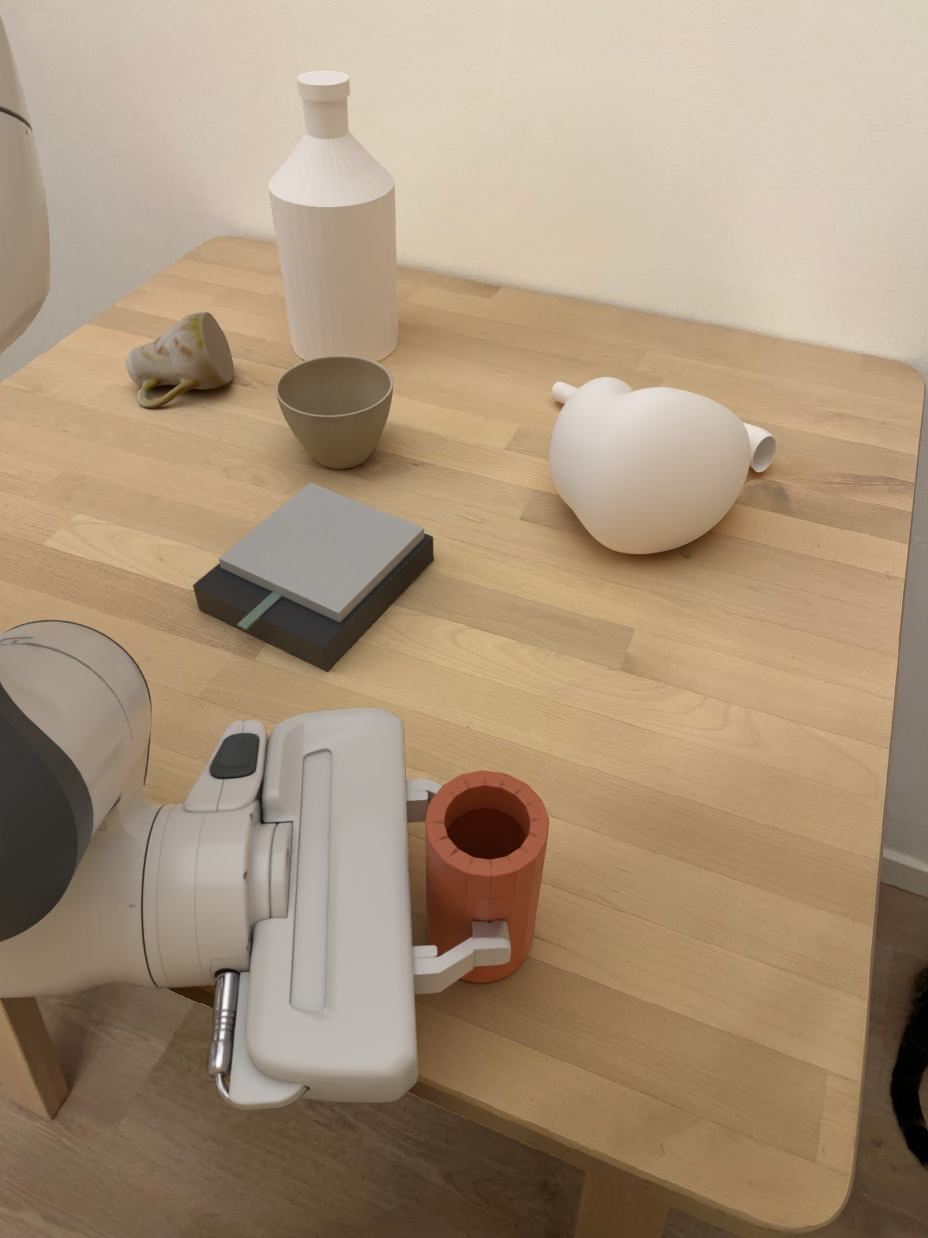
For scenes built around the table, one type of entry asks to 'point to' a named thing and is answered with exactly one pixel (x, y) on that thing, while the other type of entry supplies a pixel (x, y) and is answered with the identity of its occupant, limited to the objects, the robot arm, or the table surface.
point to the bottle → (335, 232)
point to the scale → (315, 574)
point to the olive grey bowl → (336, 407)
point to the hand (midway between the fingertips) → (501, 873)
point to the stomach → (650, 462)
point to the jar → (484, 863)
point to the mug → (182, 359)
